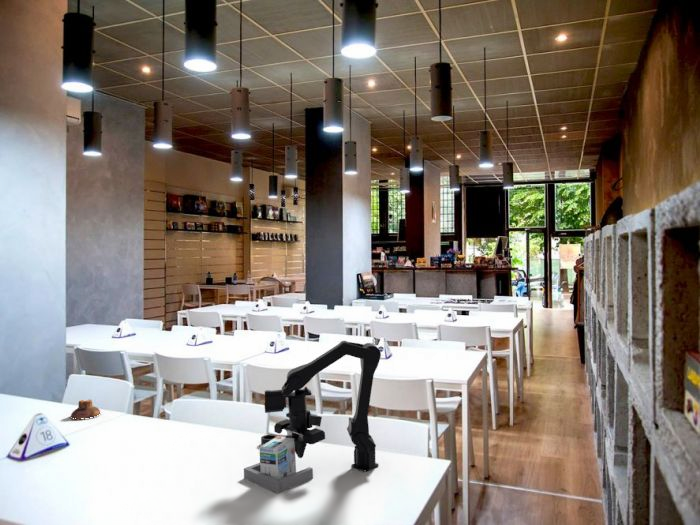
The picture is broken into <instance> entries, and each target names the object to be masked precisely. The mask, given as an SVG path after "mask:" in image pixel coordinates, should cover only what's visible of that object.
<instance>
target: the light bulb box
mask: <svg viewBox="0 0 700 525" xmlns="http://www.w3.org/2000/svg"><path fill="white" fill-rule="evenodd" d="M258 451H259V463H260V469H261V473H263V474H265V475H268V476H270V477H272V478H275V479H277V480H279V479H281V478H284V477H286V476H289V475H291V474H294V473H296V472H297V463H296V462H297V460H296V452H295V442H294V438H286V436H285V437H283V436H277V437H276V438H274V439H272V440H271V441H269V442H267V443H265V444H264V445H262V446H259V447H258Z"/></svg>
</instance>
